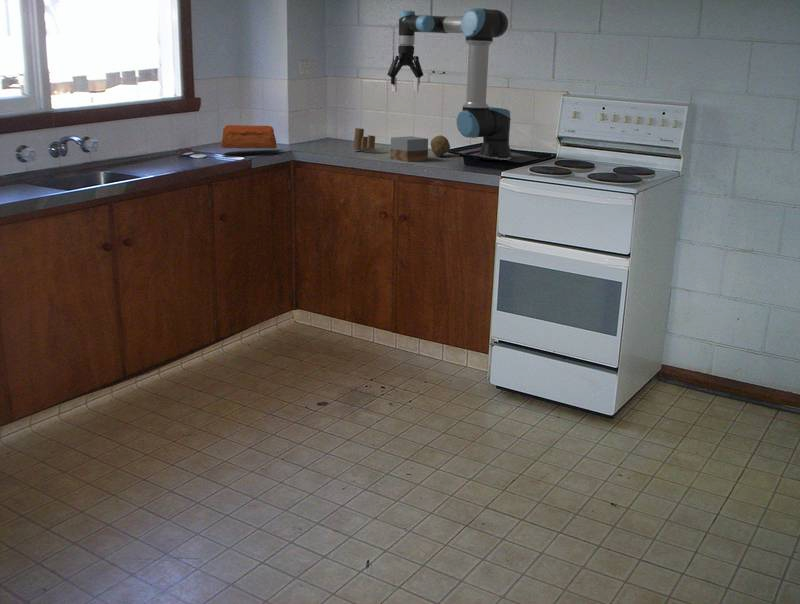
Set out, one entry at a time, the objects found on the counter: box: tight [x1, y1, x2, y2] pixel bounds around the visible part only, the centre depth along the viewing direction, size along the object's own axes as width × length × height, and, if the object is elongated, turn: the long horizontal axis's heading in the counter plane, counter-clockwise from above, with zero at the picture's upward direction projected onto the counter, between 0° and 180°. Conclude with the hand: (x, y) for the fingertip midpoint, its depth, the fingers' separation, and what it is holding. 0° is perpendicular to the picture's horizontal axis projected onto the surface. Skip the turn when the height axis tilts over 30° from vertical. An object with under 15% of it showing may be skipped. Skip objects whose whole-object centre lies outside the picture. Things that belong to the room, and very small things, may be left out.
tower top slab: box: [390, 135, 429, 151], centre depth 397 cm, size 12×12×5 cm
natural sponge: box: [430, 134, 451, 158], centre depth 409 cm, size 9×9×10 cm
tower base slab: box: [390, 148, 429, 163], centre depth 398 cm, size 12×12×5 cm
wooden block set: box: [353, 127, 376, 151], centre depth 429 cm, size 18×9×10 cm, turn 20°
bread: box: [220, 124, 277, 150], centre depth 431 cm, size 16×27×11 cm, turn 99°
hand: (405, 91), depth 420 cm, fingers open, 13 cm apart
